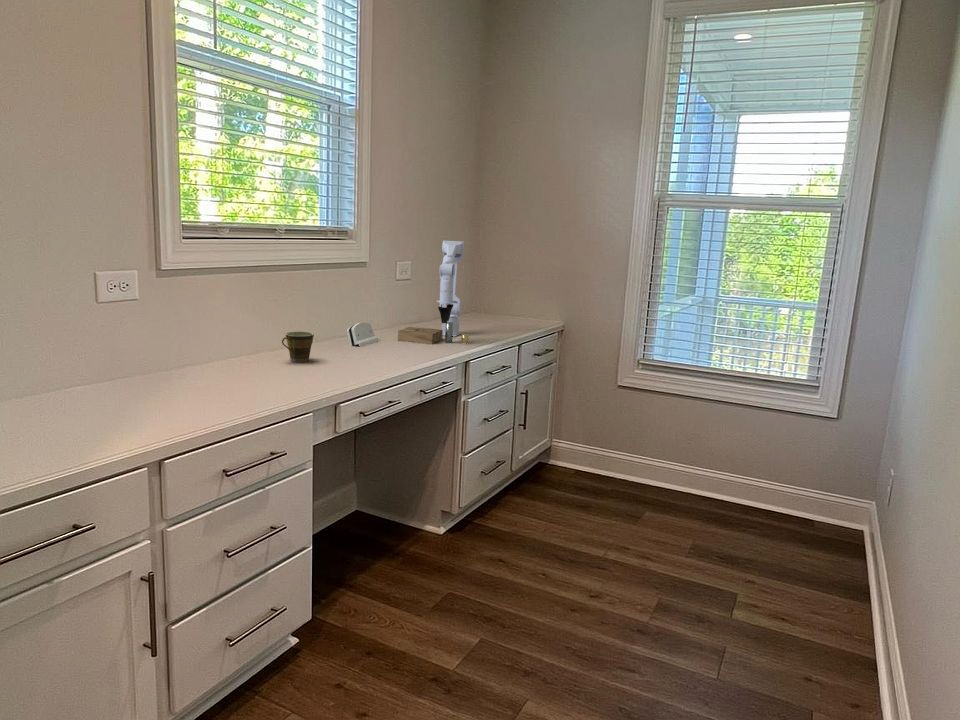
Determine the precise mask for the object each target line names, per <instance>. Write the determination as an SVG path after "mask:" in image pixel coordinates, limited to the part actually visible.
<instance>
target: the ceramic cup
mask: <svg viewBox="0 0 960 720" xmlns="http://www.w3.org/2000/svg"><path fill="white" fill-rule="evenodd" d="M285 340H286V344H287V345H286V344H285V343H284V341H285ZM313 342H314V333H313V332H310V331H290V332H287V333H285V337H283V338H282V340H281V344H282V345H283V346H284V347H286V349H287V350H288V354H289V359H290V362H293V361H294V363H305V361H307V362H309V360H310V357H311V356H310V355H311V349H312V346H313Z"/></svg>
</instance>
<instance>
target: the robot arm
mask: <svg viewBox="0 0 960 720" xmlns="http://www.w3.org/2000/svg"><path fill="white" fill-rule="evenodd" d="M441 247H442V248H441V251H442V256H443V257H442V263H441V264H440V265H439V281H440V283H439V300H436V303H439V306H438V307H437V309H438V311H439V312H438V313H439V314H440V315H439V316H440V320H441V330H443V336H444V337H445V330H446V323H447V322H453V337H452V338H454V337H457V336H459V335H462V333H461V332H460V330H459V329H460V320H459V317H460V316H461V313H462V301H461V298H460V297H458V296H457V295H456V294H457V284H458V283H457V281H458V280H457V279H458V266H459V263H460V261H462V260H463V259H464V252H465V242H464V241H463V240H461V241H460V240H445V239H444V240H443V241H442V245H441ZM443 336H442V337H443Z"/></svg>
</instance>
